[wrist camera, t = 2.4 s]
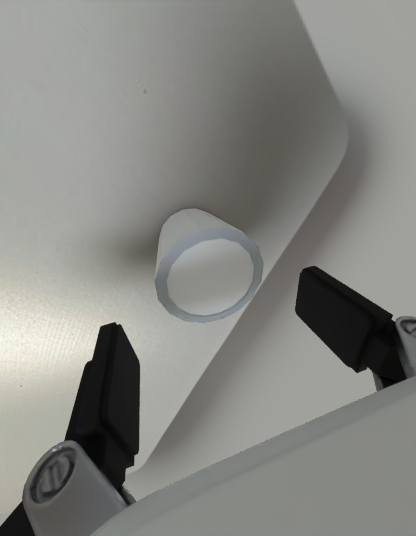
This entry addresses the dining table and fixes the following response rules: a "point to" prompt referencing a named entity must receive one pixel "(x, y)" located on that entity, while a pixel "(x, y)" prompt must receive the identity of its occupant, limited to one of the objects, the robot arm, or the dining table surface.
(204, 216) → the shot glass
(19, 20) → the dining table surface
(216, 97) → the dining table surface
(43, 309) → the dining table surface
